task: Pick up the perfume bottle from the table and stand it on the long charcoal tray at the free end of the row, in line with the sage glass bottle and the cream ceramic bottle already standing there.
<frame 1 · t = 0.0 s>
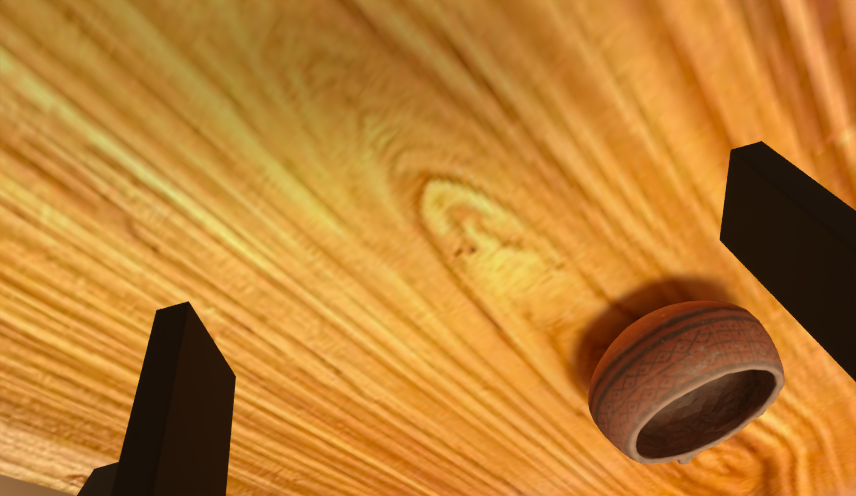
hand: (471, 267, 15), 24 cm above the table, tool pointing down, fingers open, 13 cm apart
bowl: (649, 334, 55), on the table
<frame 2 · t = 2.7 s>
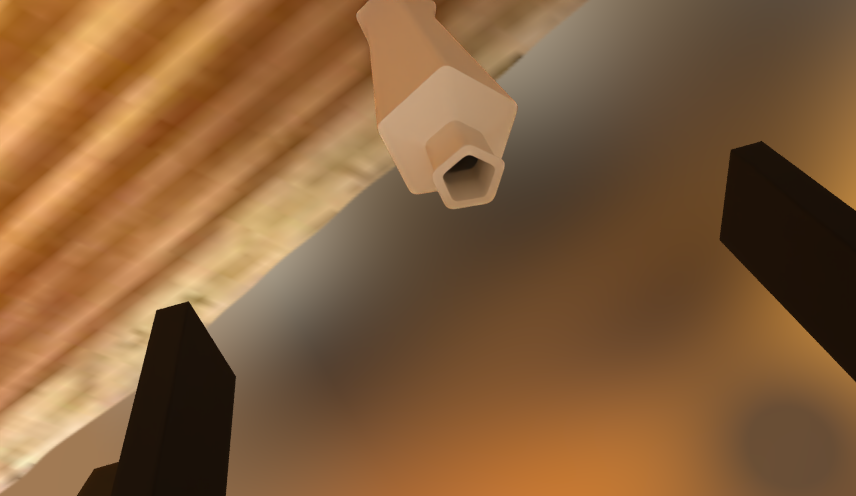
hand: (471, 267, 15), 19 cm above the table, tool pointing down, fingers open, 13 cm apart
perfume bottle: (395, 25, 30), on the table
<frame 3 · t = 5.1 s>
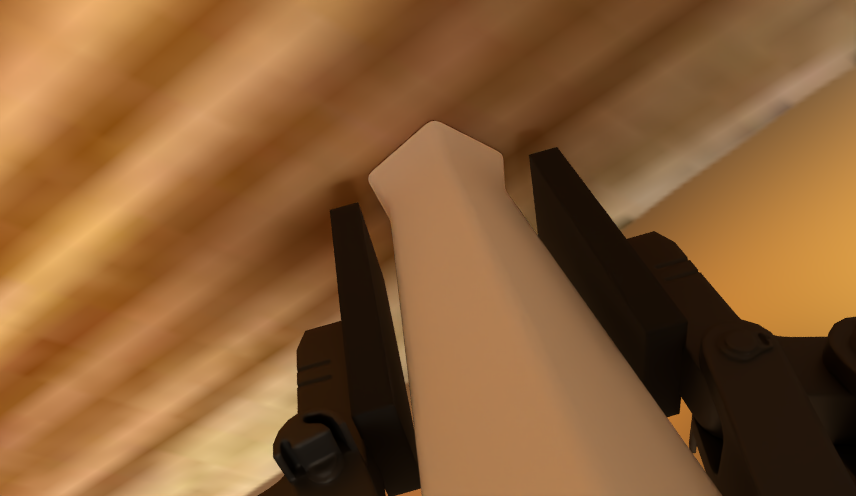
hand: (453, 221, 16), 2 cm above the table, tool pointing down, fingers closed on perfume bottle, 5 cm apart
perfume bottle: (432, 186, 18), on the table, touching gripper
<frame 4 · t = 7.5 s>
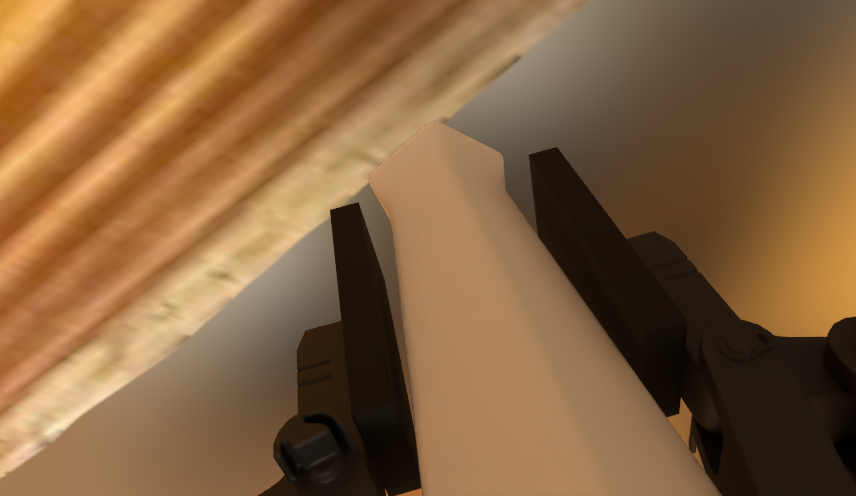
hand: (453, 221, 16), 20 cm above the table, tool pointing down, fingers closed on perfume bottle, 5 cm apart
perfume bottle: (432, 187, 18), point 19 cm above the table, touching gripper
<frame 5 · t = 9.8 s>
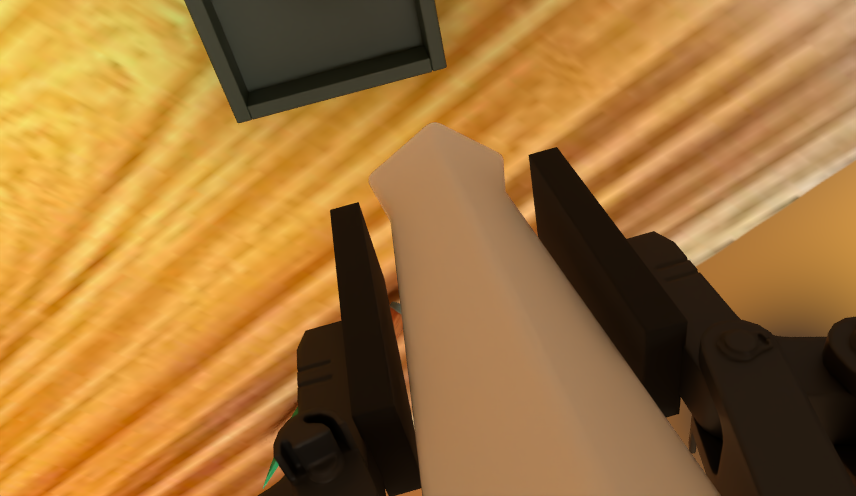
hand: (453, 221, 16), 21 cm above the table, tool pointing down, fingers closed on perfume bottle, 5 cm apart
perfume bottle: (432, 188, 18), point 19 cm above the table, touching gripper
knife: (326, 365, 49), on the table
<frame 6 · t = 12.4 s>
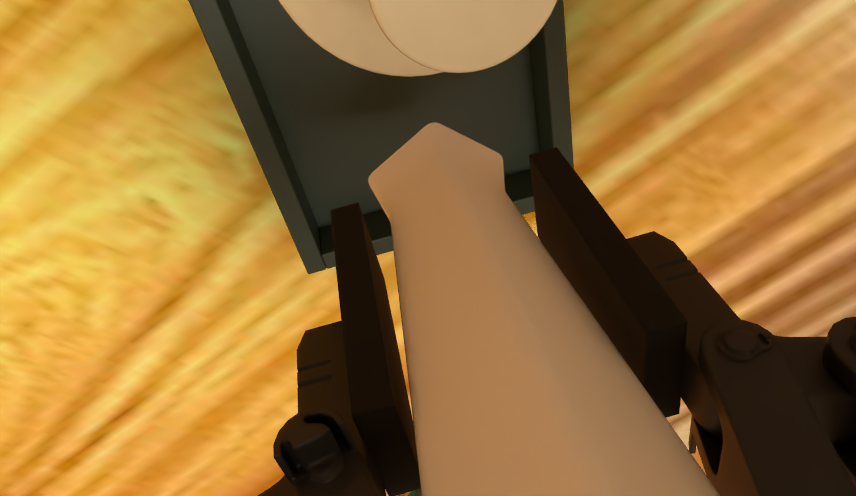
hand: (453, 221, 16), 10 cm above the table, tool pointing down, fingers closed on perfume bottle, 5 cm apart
perfume bottle: (432, 188, 18), point 8 cm above the table, touching gripper
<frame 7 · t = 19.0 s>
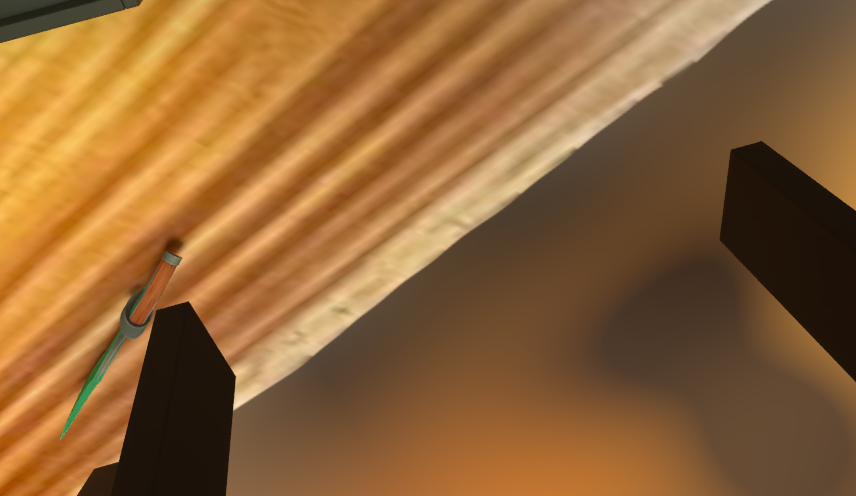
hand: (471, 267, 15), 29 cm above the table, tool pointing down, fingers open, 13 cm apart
knife: (121, 318, 50), on the table
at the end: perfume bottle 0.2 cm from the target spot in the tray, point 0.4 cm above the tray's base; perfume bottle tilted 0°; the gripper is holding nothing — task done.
